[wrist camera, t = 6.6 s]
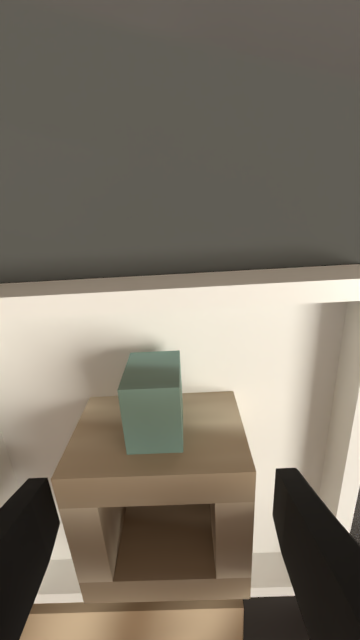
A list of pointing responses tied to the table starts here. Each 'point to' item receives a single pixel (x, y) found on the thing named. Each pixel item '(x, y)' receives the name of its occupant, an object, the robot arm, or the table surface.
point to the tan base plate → (136, 621)
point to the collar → (158, 491)
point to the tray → (192, 380)
